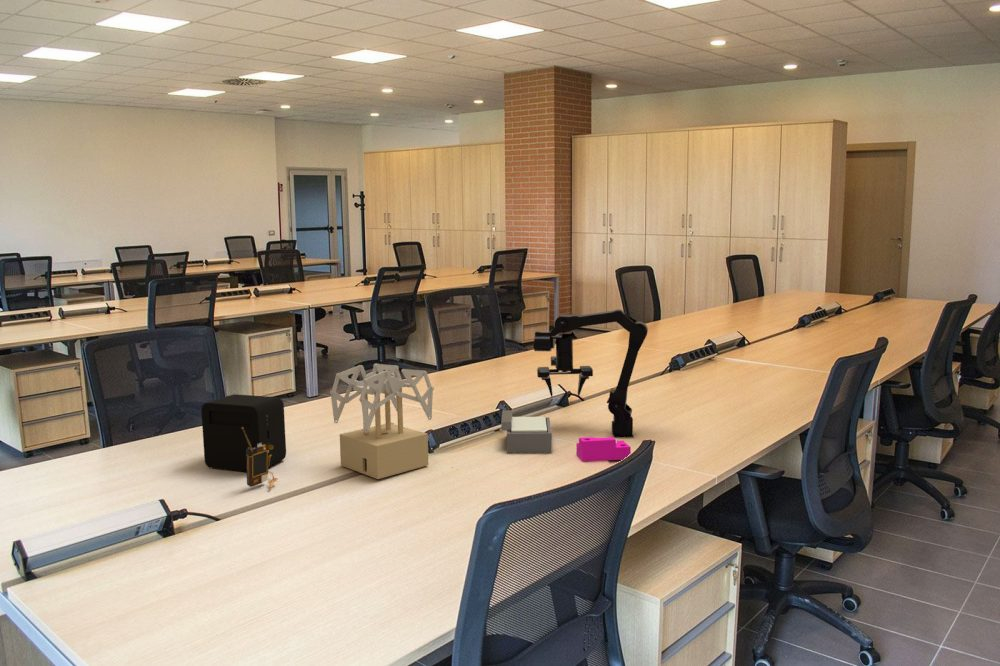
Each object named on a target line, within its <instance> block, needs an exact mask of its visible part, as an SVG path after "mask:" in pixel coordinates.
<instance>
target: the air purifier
mask: <svg viewBox="0 0 1000 666" xmlns="http://www.w3.org/2000/svg"><path fill="white" fill-rule="evenodd" d="M200 410H201V422H202V423H201V424H202V438H203V439H202V441H203V454H204V455H203V456H204V457H203V458H204V463H205V464H206V466H207V467H209V468H210V467H212V468H211V469H216V468H218V469H217V470H225V469H227V471H237V472H245V473H247V456H246V449H247V448H248V447H249V448H250V446H249V444H248V442H247V439H246V437H245V434H246V435H247V437H248V440H249V442H250V444H251V446H252V447H253V446H254V447H256V446H257V444H259V443H262V444H266V445H273V447H274V448H273V449H272V450H270V449H269V448H268V450H269V453H268V456H269V455H272V456H271V458H270V464H269V467H271V466H273V465H275V464H277V463H279V462H282V461H283V460H285V458H286V456H287V444H286V443H287V441H286V424H285V420H286V419H285V405H284V401H283V400H282V399H281V398H280V397H277V396H267V395H265V396H264V395H249V394H235V393H233V394H231V395H227V396H224V397H221V398H218V399H214V400H210V401H208V402H205V403H203V404H202V406H201V408H200ZM242 427H244V431H245V433H244V431H243V429H242Z"/></svg>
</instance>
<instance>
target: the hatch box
mask: <svg viewBox="0 0 1000 666" xmlns="http://www.w3.org/2000/svg"><path fill="white" fill-rule="evenodd" d="M544 417H545V418H546V426H547V432H511V431H506V453H507V454H553V453H552V452H553V451H552V449H553V447H552V441H553V440H552V439H553V438H552V437H553V435H552V433H553V432H552V426H551V420H550V419H551V418H550V416H549V417H546V416H544Z"/></svg>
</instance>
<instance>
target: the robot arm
mask: <svg viewBox="0 0 1000 666" xmlns="http://www.w3.org/2000/svg"><path fill="white" fill-rule="evenodd" d="M610 323H617V324H618V325H620V326H621V327H622V328H623V329H624V330H626V331H627V332H628V334H629V336H628V346H627V351H626V355H625V357H624V362H623V364H622V368H621V372H620V375H619V378H618V382H617V385H616V388H615V389H614V388H611V389H610V391H609V394H608V395H609V396H608V398H607V401H606V404H608V405H607V409H608V411H609V412H610V413H611V414H612V415H613V416H612V419H613V420H612V421H611V434H612V435H613V438H634V430H633V429H634V426H633V425H634V419H633V416H632V415H633V414H632V412H633V408H631V407H630V405H629V404H627V402H628V401H627V400H628V388H629V384H630V380H631V378H632V374H633V371H634V369H635V364H636V361H637V357H638V354H639V351H640V349H641V347H642V346H643V344H644V341H645V339H646V338H647V335H648V332H649V328H648V325H647V324H646V323H645V322H643V321H640V320H639V321H637V320H636V319H635V318H634V317H632V316H630V315H629V314H627V313H626V312H624V310H623V309H619V308H617V309H614V310H610V311H609V310H608V311H602V312H596V313H595V312H594V313H589V314H588V313H587V314H573V313H572V314H571V313H570V314H566V313H563V314H561V315H559V316H557V318H556V319H555V321H554V327H553V328H552V329H551V330H550V331H535V332H534V339H533V351H534V352H552V349H555V355H554V356H553V355H551V356H550V366H551V367H553V366H554V367H555V368H554V369H553V368H552V369H551V368H550V367H549V366H538V367H537V369H536V372H537V378H538V379H539V378H540V379H541V380H542V381H544V382H545V384H546V386H547V388H548V391H549V394H550V396H551V398H553V387H552V380H551V377H550V376H552V375H554V376H555V375H578V384H577V386H578V387H577V397H580V395H581V392H582V390H583V386H584V384H585V383H586V381H587V380H589V379H590V377H594V371H593V368H592V367H591V366H590V365H580V366H579V368H574V352H573V351H574V347H573V345H574V344H573V343H574V341H573V340H576V339H578V338H579V335H578V334H577V333H576V332H575V331H574V330H577V329H580V328H583V327H589V326H595V325H603V324H610ZM569 332H571V333H569ZM559 334H561V335H559Z"/></svg>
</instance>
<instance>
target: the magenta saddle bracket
mask: <svg viewBox="0 0 1000 666" xmlns="http://www.w3.org/2000/svg"><path fill="white" fill-rule="evenodd" d="M575 449H576V456H577V457H578V459H580V461H582V462H584V463H586V462H599V461H603V462H604V461H615V460H616V461H617V460H619V461H620V460H624V459H623V458H625V457H627V456H628V455H629V454H631V449H632V448H631V446H630V445H629V444H628V443H627V442H626V441H624V440H617V439H616V438H615V437H614V436H610V437H597V436H596V437H595V436H587V437H586V436H585V437H578V442H576V448H575Z"/></svg>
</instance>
